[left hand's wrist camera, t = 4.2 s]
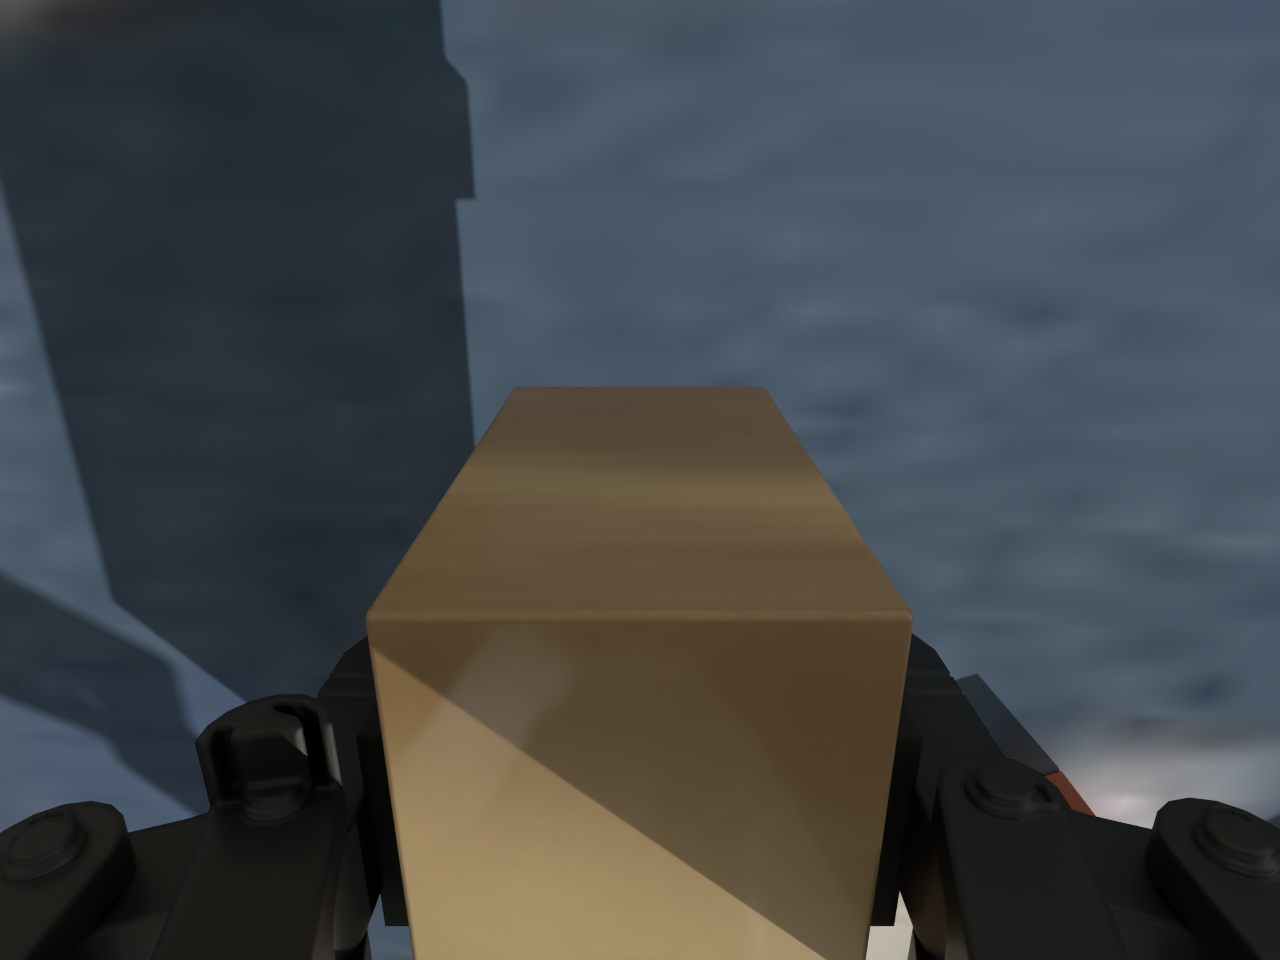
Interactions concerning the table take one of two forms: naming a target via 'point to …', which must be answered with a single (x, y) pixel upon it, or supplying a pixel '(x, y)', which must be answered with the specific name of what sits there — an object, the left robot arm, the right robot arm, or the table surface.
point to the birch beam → (639, 689)
